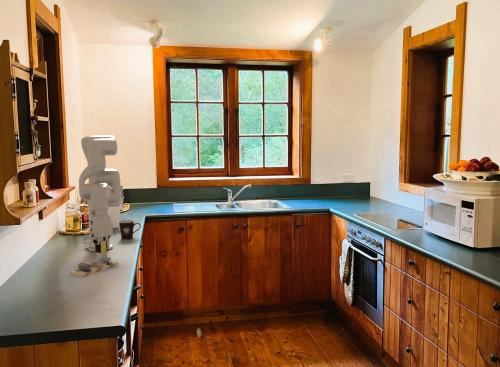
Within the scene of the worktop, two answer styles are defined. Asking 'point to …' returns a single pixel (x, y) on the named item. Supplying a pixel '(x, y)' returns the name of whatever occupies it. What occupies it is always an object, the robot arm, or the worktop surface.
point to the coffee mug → (127, 228)
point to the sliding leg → (103, 253)
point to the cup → (114, 215)
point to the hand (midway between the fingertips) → (101, 251)
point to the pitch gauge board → (92, 268)
